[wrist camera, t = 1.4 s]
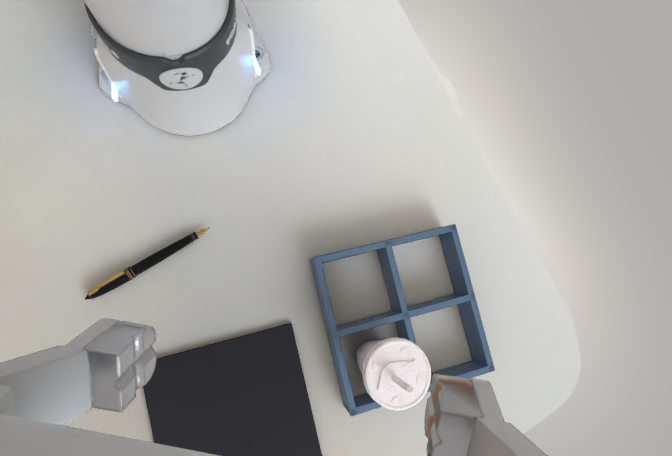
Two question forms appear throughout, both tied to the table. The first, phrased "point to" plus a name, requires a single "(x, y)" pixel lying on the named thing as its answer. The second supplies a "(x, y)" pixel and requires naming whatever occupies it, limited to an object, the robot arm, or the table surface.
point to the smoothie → (394, 372)
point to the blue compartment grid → (406, 310)
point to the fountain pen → (142, 266)
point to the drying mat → (234, 398)
